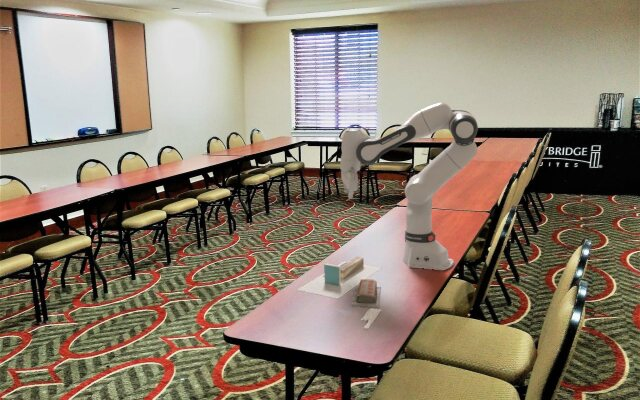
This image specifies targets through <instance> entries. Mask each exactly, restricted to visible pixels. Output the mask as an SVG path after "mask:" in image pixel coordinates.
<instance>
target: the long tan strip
mask: <svg viewBox="0 0 640 400" xmlns="http://www.w3.org/2000/svg"><path fill="white" fill-rule="evenodd" d="M347 262H348V263H346V264H345V265H343V266H341V267H340V274H341V279H345V278H347V277H348V276H350V275H351V274H353V273H354V272H356V271H357V270H359V269H360V268H362V267H363V266H364V265H365V263H364V257H362V256H361V257H360V256H356V257H355V258H353V259H351V260H349V261H347Z"/></svg>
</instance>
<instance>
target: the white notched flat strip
mask: <svg viewBox="0 0 640 400" xmlns="http://www.w3.org/2000/svg"><path fill="white" fill-rule="evenodd" d="M381 312H382V311H381V309H380V308H372V307H370V308H368V309H367V310H366V312H365V313H364V315H363V317H361V319H360V321H364V322H367V321H368V322H367V323H366V324H365V325H364V326H363V329H364V330H369V329H370V327H371V326H372V325H373V323H375V322H374V321H375V320H377V317H378V315H380V313H381Z"/></svg>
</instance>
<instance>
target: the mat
mask: <svg viewBox="0 0 640 400" xmlns="http://www.w3.org/2000/svg"><path fill="white" fill-rule="evenodd" d="M348 262H349V261H342V262H340V263H339V264H337V266H340V267H341V266H343V265H345V264H346V263H348ZM379 270H382V267H380V266H379V267H378V266H374V265H373V266H372V265H369V264H364V266H363V267H362V268H360V269H359V270H357V271H356V272H354V273H353V274H351V275H350V276H348V277H347V278H345V279H341V285H340V286H338V285H333V284H329V283H325V274H324V273H322V274H321V275H319V276H317V277H316V278H313V279H312V280H311V281H308V282H307V283H305V284H304V285H302V286H301V287H298V288H297V289H296V291H300V292H306V293H308V294H309V293H310V294H315V295H319V296H323V297H328V298H333V299H337V300H338V299H340V298H341V297H343V296H345V295H346V294H347V293H348V292H349V291H351V290H353V289H355V287H356V286H359V284H360V281H361V280H362V279H368V278H370V277H371V276H373V275H374V274H375V273H377V272H379Z"/></svg>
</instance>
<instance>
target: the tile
mask: <svg viewBox="0 0 640 400" xmlns="http://www.w3.org/2000/svg"><path fill="white" fill-rule="evenodd" d="M337 265H338V264H337ZM337 265H336V264H332V263H327V262H326V263H324V264H323V267H324V268H323V269H324V273H323V274H325V283H329V284H333V285H338V286H340V285H341V274H340V266H337Z"/></svg>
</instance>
